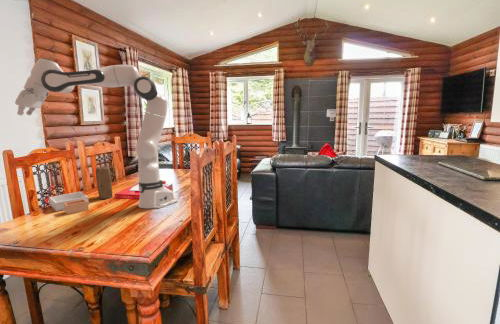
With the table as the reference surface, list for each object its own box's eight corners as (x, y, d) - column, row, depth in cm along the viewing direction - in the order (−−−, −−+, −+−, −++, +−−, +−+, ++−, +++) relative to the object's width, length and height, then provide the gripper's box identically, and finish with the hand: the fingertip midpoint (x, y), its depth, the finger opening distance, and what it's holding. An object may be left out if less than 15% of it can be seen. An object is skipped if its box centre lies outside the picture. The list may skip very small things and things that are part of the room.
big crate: (81, 199, 171) (80, 191, 170) (89, 204, 160) (88, 196, 159) (50, 205, 160) (49, 197, 159) (56, 211, 149) (55, 203, 148)
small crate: (85, 207, 155) (84, 199, 155) (88, 209, 151) (87, 201, 150) (64, 212, 148) (63, 203, 148) (67, 214, 144) (66, 205, 143)
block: (113, 198, 173) (110, 167, 170) (100, 200, 168) (97, 168, 165) (110, 194, 181) (107, 165, 178) (97, 196, 177) (94, 166, 174)
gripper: (34, 90, 125) (21, 117, 125) (50, 93, 144) (39, 117, 144) (18, 84, 123) (5, 111, 123) (37, 88, 142) (26, 111, 142)
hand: (24, 114), depth 134 cm, fingers open, 8 cm apart
